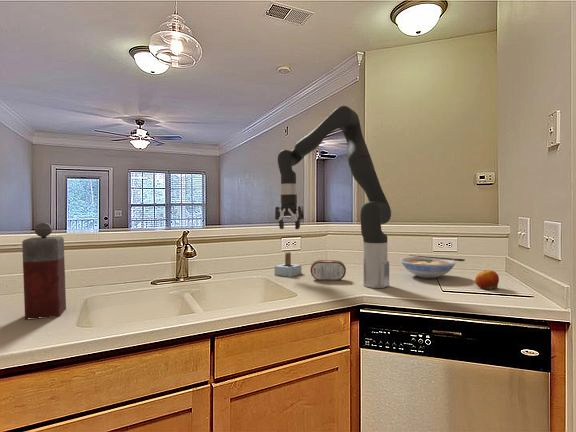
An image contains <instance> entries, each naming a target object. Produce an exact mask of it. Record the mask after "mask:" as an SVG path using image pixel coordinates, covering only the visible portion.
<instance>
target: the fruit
mask: <svg viewBox="0 0 576 432" xmlns="http://www.w3.org/2000/svg"><path fill="white" fill-rule="evenodd" d="M499 277H500V276H499V275H498V273H497V272H496V271H494V270H491V269H485V270H483V271H479V272H478V273H477V274H476V276H475V278H474V282H475V285H476V286H477V287H478V288H479V289H481V290H493V289H494V288H495V289H498V286H499V282H500V278H499Z"/></svg>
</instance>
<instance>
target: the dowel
mask: <svg viewBox="0 0 576 432" xmlns="http://www.w3.org/2000/svg"><path fill="white" fill-rule="evenodd" d="M291 258H292V253H291V252H288V251H286V252H284V260H285V261H284V264H285V266H287V267H290V266H291V264H292V262H291V261H292V259H291Z"/></svg>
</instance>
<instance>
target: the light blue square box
mask: <svg viewBox="0 0 576 432" xmlns="http://www.w3.org/2000/svg"><path fill="white" fill-rule="evenodd" d="M273 268H274V275H275V276H282V277H290V278H291V277H295V276H298V275H300V274H302V273H303V272H302V264H298V263H295V264H294V263H291V266H290V267H287V266H285V263H281V264H278V265H274V267H273Z"/></svg>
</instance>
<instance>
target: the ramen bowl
mask: <svg viewBox="0 0 576 432" xmlns="http://www.w3.org/2000/svg"><path fill="white" fill-rule="evenodd" d="M465 260H466V259H464V258H453V257H442V256H441V257H439V256H438V257H436V256H427V255H425V256H424V255H417V256H415V255H413V254H409V255H408V256H406V257H402V258H400V262H401V264H402V265H403V268H405V270H406V271H408V272H409V273H411V274H413V275H415V276H417V277H418V278H421V279H437V278H438V277H441V276H444V275H446V274H448V273H449V272H450V271H452V269H453V268H454V267H455V265H456V263H457V262H465Z"/></svg>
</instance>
